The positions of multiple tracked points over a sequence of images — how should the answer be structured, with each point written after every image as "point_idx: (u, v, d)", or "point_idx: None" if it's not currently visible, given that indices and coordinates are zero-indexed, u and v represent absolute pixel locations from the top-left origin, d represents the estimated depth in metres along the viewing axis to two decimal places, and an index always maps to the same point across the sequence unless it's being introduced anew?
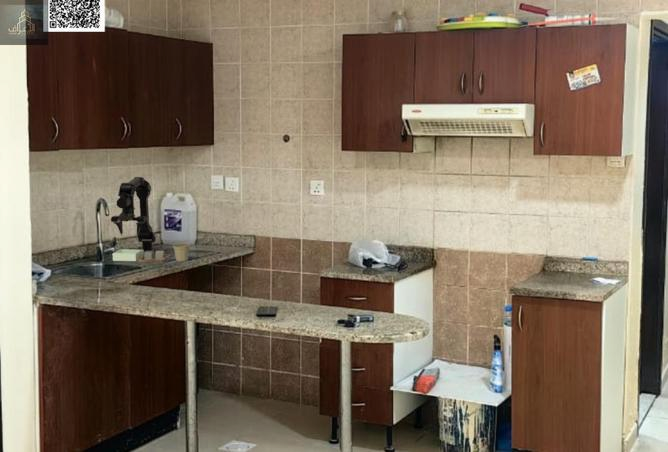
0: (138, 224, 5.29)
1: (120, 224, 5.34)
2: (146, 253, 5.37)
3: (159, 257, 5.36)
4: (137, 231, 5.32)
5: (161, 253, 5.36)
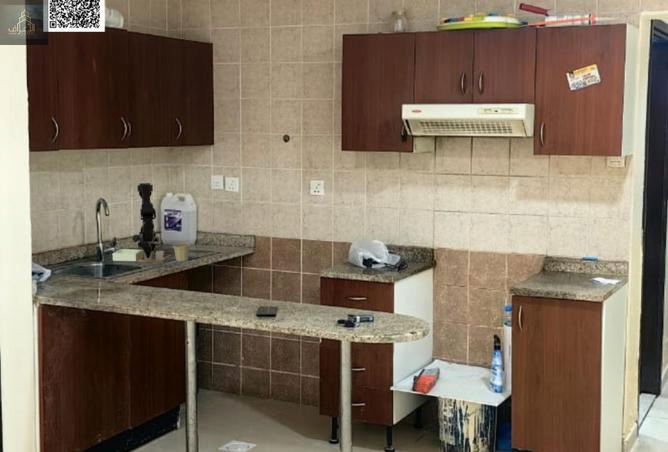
0: None
1: (150, 246, 5.41)
2: None
3: (159, 257, 5.36)
4: (146, 254, 5.37)
5: (161, 253, 5.36)
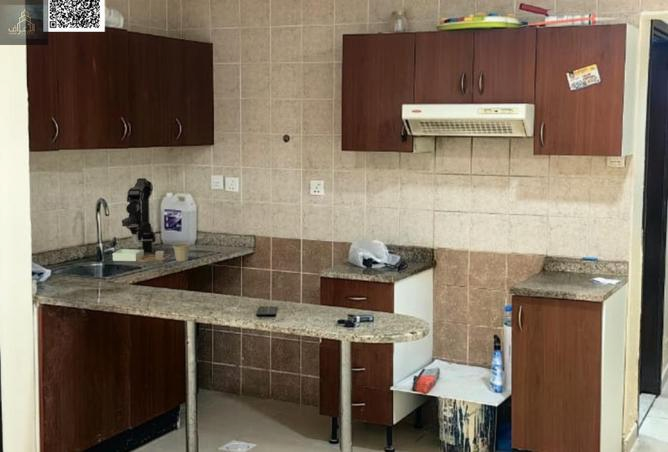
0: (137, 230, 5.32)
1: (133, 229, 5.38)
2: None
3: (159, 257, 5.36)
4: (138, 237, 5.34)
5: (161, 253, 5.36)
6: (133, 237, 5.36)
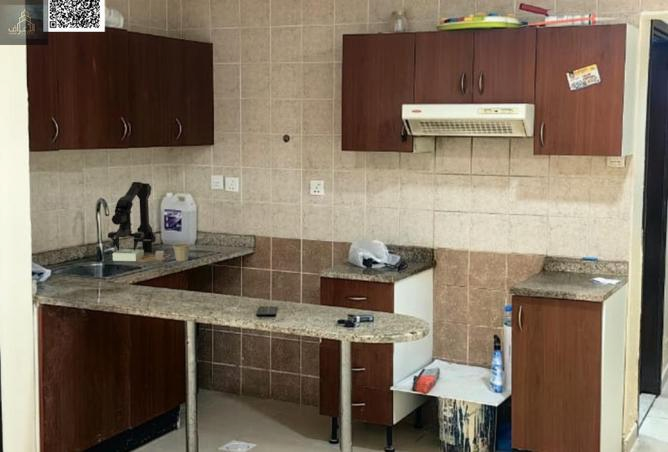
0: (135, 240, 5.33)
1: (117, 240, 5.37)
2: None
3: (159, 257, 5.36)
4: (134, 247, 5.35)
5: (161, 253, 5.36)
6: None
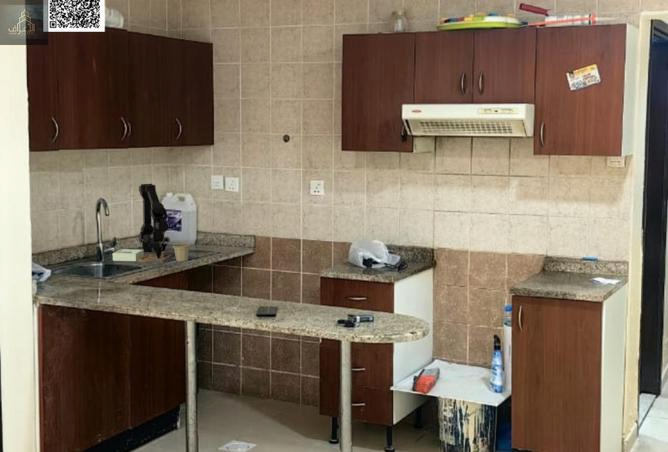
0: None
1: (160, 246, 5.40)
2: None
3: None
4: (156, 254, 5.36)
5: (161, 253, 5.36)
6: None
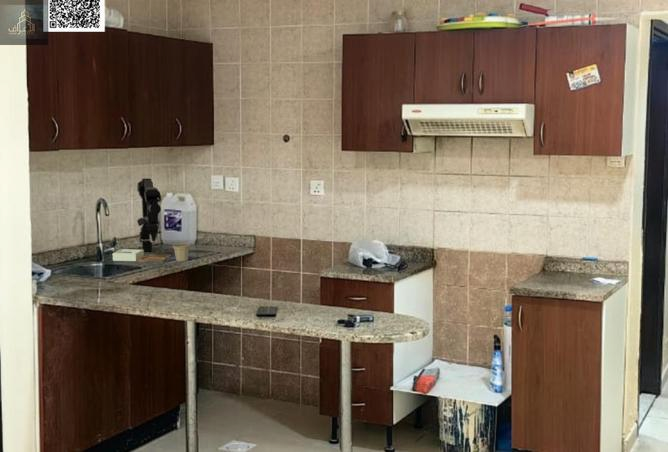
0: (148, 230, 5.33)
1: None
2: None
3: None
4: None
5: (156, 235, 5.36)
6: None
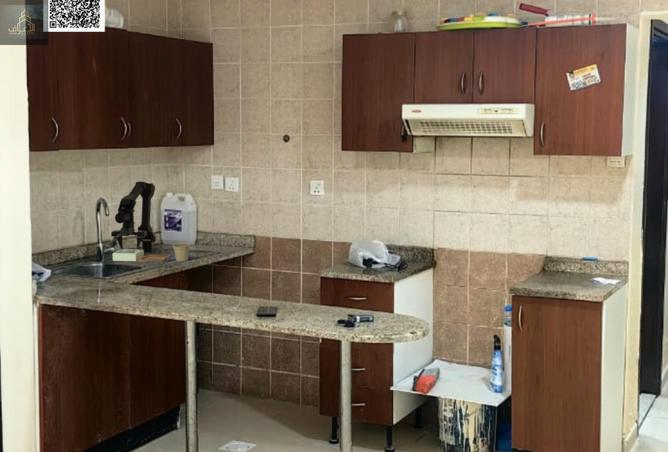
0: (138, 239, 5.38)
1: (120, 239, 5.42)
2: None
3: None
4: (137, 245, 5.40)
5: None
6: None
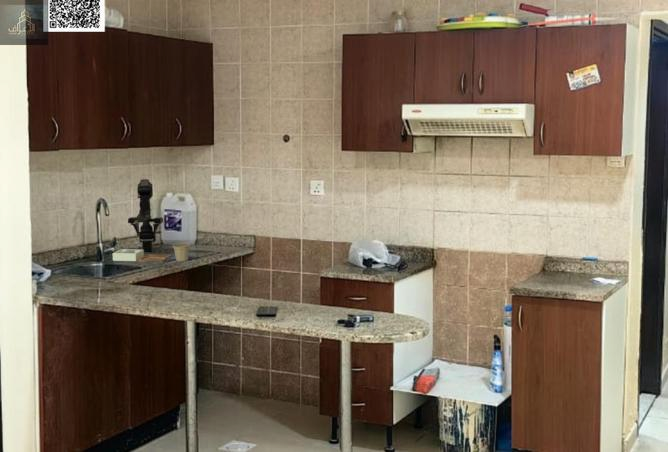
0: (155, 225, 5.42)
1: (137, 225, 5.46)
2: None
3: None
4: (154, 232, 5.44)
5: None
6: None
